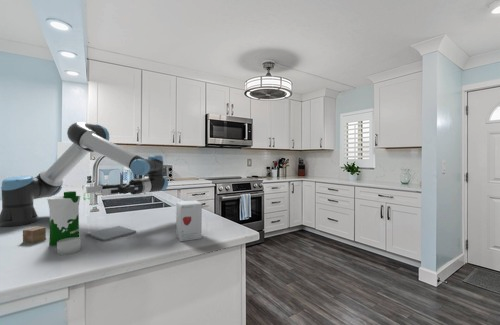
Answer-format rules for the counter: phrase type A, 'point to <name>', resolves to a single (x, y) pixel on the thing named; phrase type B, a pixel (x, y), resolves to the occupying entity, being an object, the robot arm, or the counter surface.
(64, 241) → the white cylinder puck
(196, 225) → the supplement box
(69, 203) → the soya milk
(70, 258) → the counter surface
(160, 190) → the robot arm
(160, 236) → the counter surface
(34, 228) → the walnut block
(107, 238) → the slate board
